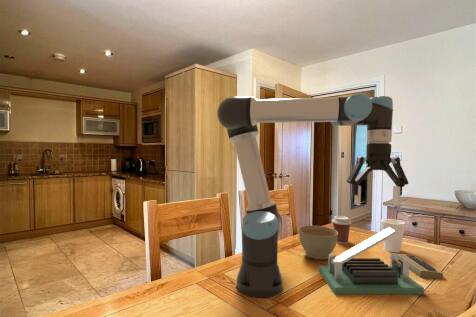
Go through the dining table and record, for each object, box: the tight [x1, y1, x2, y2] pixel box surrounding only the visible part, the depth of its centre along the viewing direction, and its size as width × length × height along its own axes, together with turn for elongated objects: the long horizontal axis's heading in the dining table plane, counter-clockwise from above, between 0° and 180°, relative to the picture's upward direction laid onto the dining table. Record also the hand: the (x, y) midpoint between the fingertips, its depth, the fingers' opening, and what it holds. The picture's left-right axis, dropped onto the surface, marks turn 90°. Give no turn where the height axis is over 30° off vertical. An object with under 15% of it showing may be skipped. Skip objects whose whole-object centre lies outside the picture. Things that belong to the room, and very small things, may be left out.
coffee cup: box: [331, 215, 352, 245], centre depth 133 cm, size 9×9×12 cm
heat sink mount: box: [327, 252, 410, 285], centre depth 92 cm, size 24×12×8 cm, turn 90°
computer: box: [397, 253, 444, 279], centre depth 103 cm, size 16×8×3 cm, turn 178°
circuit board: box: [318, 265, 425, 295], centre depth 92 cm, size 28×16×2 cm, turn 90°
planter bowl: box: [298, 225, 338, 260], centre depth 115 cm, size 16×16×11 cm
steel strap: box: [331, 228, 397, 266], centre depth 92 cm, size 23×4×2 cm, turn 90°
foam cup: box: [380, 218, 406, 254], centre depth 122 cm, size 10×9×13 cm
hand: (376, 204), depth 92 cm, fingers open, 13 cm apart
